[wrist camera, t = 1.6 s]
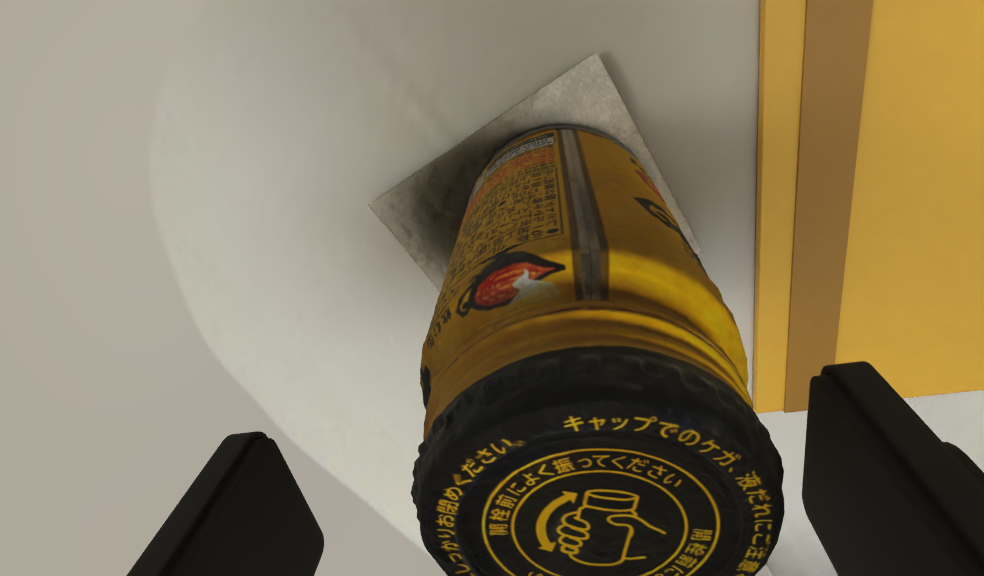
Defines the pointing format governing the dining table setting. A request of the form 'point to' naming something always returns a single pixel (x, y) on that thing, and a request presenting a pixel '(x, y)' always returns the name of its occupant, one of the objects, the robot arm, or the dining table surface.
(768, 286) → the towel
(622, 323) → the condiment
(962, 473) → the robot arm
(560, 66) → the dining table surface
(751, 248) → the dining table surface
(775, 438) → the dining table surface
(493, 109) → the dining table surface
